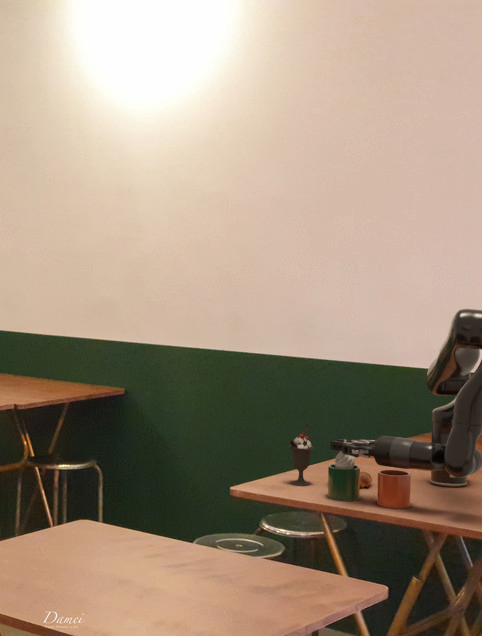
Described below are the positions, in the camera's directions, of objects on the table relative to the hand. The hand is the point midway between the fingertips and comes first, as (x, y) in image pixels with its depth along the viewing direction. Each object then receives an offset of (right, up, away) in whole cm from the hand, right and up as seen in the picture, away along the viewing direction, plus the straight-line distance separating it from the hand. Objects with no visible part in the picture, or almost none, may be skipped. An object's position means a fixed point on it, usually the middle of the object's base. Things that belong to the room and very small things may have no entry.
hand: (334, 444), depth 281 cm
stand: (+2, -14, -1) cm, 14 cm away
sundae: (-5, -13, +16) cm, 21 cm away
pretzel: (+8, -13, +13) cm, 20 cm away
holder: (+13, -14, -9) cm, 21 cm away
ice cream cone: (+2, -13, -1) cm, 14 cm away
